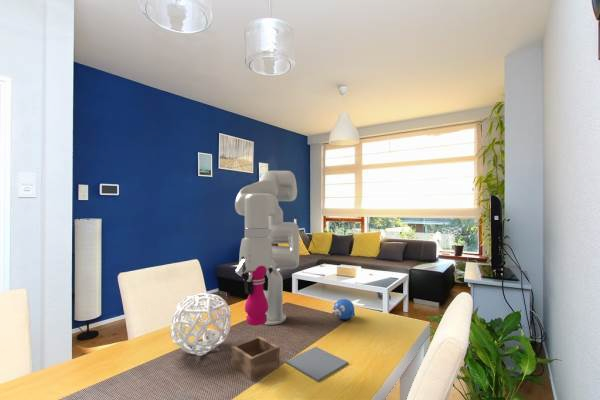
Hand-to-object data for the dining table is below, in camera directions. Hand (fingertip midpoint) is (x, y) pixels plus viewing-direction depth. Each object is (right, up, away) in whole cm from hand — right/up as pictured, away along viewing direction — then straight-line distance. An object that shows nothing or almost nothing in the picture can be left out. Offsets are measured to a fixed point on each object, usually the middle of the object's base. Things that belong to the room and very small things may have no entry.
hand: (256, 291), depth 95 cm
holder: (0, -23, 0) cm, 23 cm away
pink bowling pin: (0, -10, 0) cm, 10 cm away
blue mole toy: (+32, -24, +37) cm, 54 cm away
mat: (+19, -23, +1) cm, 30 cm away
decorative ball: (-20, -23, +9) cm, 32 cm away
